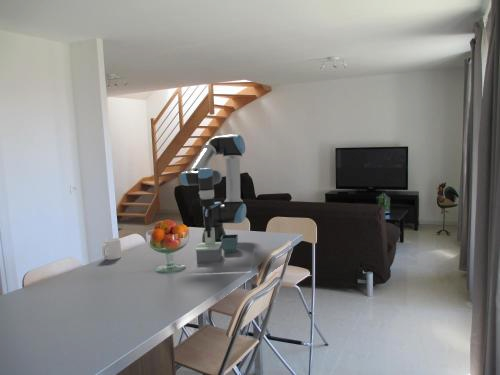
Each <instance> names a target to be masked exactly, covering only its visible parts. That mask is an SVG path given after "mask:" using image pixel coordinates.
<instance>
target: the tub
mask: <svg viewBox="0 0 500 375" xmlns="http://www.w3.org/2000/svg"><path fill="white" fill-rule="evenodd" d="M222 250H223V248H222V245H221V246H220V248H219V250H200V251H196V253H195V254H196V263H198V264H201V263H219V262H220V261H221V258H222V256H223V252H222Z"/></svg>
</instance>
